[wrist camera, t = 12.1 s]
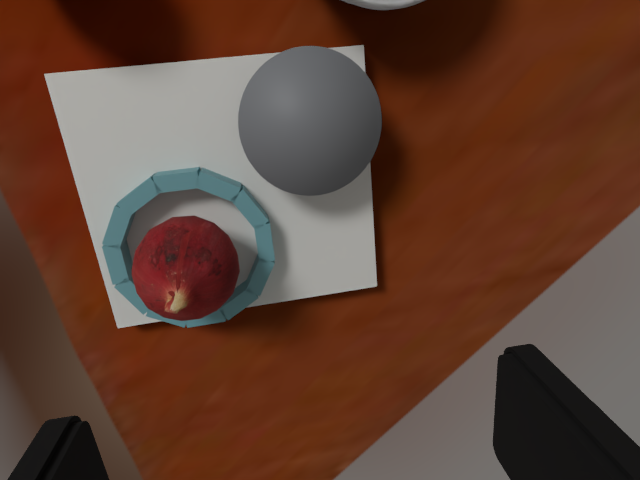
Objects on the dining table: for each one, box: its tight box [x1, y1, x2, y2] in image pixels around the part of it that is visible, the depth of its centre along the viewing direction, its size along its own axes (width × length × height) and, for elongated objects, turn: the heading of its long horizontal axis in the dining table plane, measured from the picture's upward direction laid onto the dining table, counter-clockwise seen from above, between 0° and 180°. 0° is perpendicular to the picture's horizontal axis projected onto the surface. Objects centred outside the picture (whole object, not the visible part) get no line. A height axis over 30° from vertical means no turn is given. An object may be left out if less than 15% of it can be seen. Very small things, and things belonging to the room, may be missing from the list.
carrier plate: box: [44, 45, 382, 328], centre depth 27 cm, size 18×16×4 cm
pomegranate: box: [132, 216, 240, 321], centre depth 24 cm, size 6×6×8 cm
